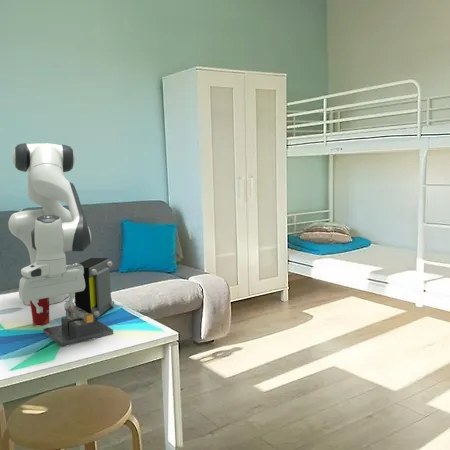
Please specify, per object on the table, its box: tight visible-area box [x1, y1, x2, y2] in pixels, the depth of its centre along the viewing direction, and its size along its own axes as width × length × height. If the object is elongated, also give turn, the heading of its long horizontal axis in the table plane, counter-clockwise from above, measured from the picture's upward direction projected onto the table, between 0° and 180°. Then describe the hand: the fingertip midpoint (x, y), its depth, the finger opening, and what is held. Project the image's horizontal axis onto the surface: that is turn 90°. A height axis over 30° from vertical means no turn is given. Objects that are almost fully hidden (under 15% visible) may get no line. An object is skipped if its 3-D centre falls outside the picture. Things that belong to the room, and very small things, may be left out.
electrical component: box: [74, 257, 115, 320], centre depth 196 cm, size 18×10×20 cm, turn 168°
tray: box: [43, 311, 114, 348], centre depth 174 cm, size 17×18×6 cm
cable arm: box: [63, 301, 93, 323], centre depth 173 cm, size 20×3×2 cm, turn 38°
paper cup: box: [30, 298, 50, 326], centre depth 186 cm, size 8×8×14 cm
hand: (54, 309), depth 161 cm, fingers open, 8 cm apart
